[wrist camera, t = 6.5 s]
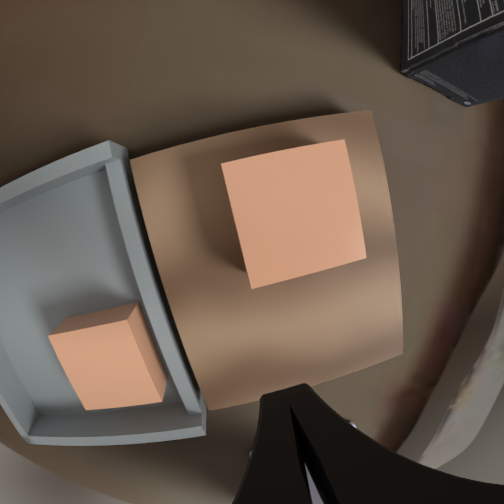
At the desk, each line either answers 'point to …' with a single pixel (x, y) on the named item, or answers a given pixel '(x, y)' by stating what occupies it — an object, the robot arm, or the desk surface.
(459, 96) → the small box
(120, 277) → the tray
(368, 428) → the desk surface
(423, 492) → the robot arm
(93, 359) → the tile far
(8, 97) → the desk surface
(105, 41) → the desk surface
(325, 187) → the tile near
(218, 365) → the plate
